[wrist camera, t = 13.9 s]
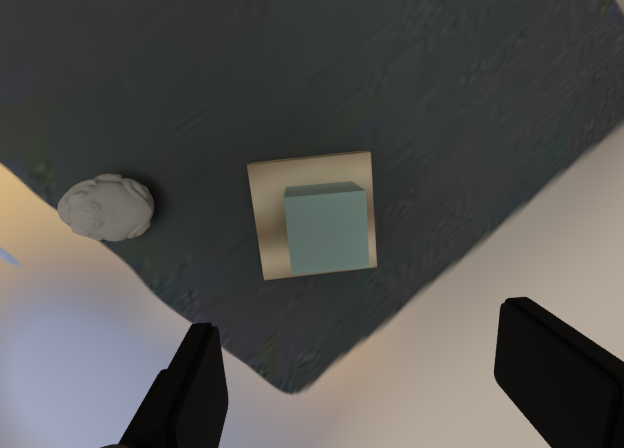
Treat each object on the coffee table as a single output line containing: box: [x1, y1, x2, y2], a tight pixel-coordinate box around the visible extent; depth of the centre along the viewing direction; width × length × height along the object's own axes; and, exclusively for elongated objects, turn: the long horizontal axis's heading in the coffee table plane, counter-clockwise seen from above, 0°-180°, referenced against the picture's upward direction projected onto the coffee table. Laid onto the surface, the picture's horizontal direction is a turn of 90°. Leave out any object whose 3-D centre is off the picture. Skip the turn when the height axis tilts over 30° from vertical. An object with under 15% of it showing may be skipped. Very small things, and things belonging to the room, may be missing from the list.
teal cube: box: [284, 181, 369, 275], centre depth 27 cm, size 6×6×6 cm
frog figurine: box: [58, 173, 154, 241], centre depth 29 cm, size 6×7×7 cm
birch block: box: [247, 151, 377, 280], centre depth 32 cm, size 11×11×4 cm
